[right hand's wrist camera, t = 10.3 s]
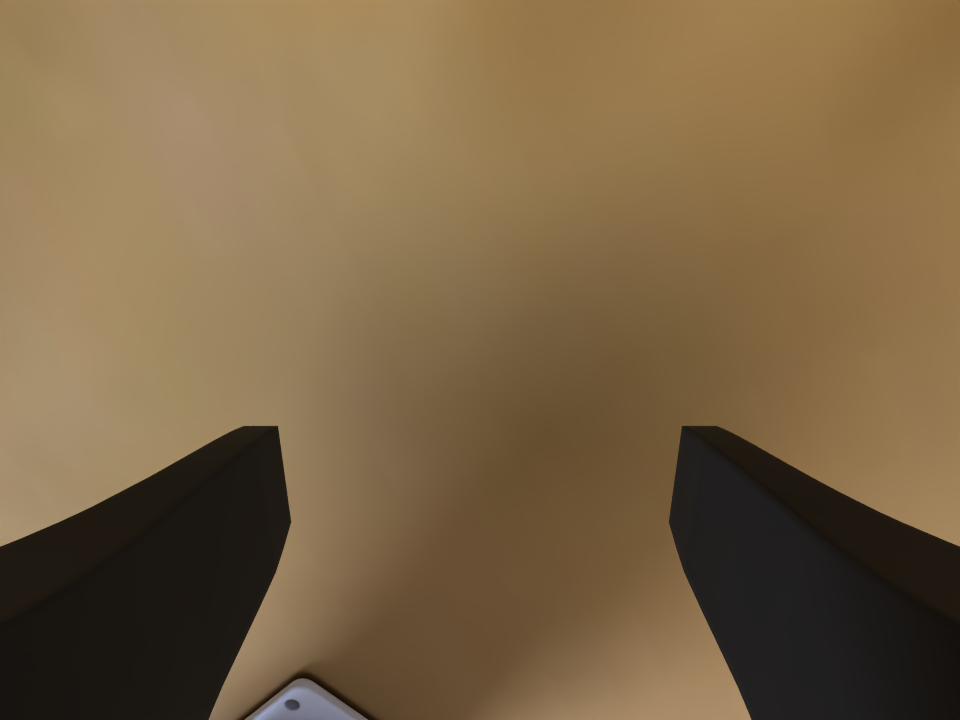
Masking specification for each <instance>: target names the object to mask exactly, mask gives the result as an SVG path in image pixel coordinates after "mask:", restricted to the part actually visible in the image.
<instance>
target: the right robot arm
mask: <svg viewBox="0 0 960 720" xmlns="http://www.w3.org/2000/svg"><path fill="white" fill-rule="evenodd" d="M290 524H291V518H290V511H289V503H288V496H287V489H286V482H285V474H284V467H283V460H282V453H281V445H280V438H279V431H278V426H243V427H240V428H238V429H235V430H233V431H231V432H229V433H227V434H225V435H223V436H221V437H220V438H218V439H216V440H214V441H212V442H210V443H209V444H207V445H205V446H203V447H202V448H200V449H198V450H196V451H195V452H193V453H191V454H189V455H187V456H186V457H184V458H182V459H180V460H179V461H177V462H175V463H173V464H172V465H170V466H168V467H166V468H165V469H163V470H161V471H159V472H157V473H156V474H154V475H152V476H150V477H148V478H147V479H145V480H143V481H141V482H139V483H137V484H135V485H133V486H131V487H129V488H127V489H125V490H123V491H122V492H120V493H118V494H116V495H114V496H112V497H110V498H108V499H106V500H104V501H102V502H100V503H99V504H97V505H95V506H93V507H91V508H89V509H86V510H84V511H82V512H80V513H78V514H76V515H74V516H72V517H69V518H67V519H65V520H63V521H61V522H59V523H56V524H54V525H52V526H49V527H47V528H45V529H42V530H40V531H37V532H35V533H33V534H30V535H28V536H26V537H23V538H21V539H19V540H16V541H14V542H11V543H9V544H6V545H4V546H1V547H0V720H209V717H210V714H211V712H212V710H213V707H214V705H215V703H216V700H217V698H218V695H219V693H220V691H221V688H222V686H223V684H224V682H225V680H226V678H227V675H228V673H229V671H230V669H231V667H232V665H233V663H234V661H235V658H236V656H237V654H238V652H239V650H240V648H241V646H242V644H243V642H244V639H245V637H246V635H247V633H248V631H249V629H250V627H251V625H252V622H253V620H254V618H255V616H256V614H257V612H258V610H259V608H260V605H261V603H262V601H263V599H264V597H265V595H266V592H267V590H268V588H269V586H270V584H271V582H272V579H273V577H274V575H275V573H276V570H277V567H278V564H279V561H280V558H281V554H282V551H283V548H284V545H285V541H286V538H287V534H288V531H289V527H290ZM669 524H670V527H671V531H672V534H673V538H674V541H675V545H676V548H677V551H678V554H679V558H680V561H681V564H682V567H683V570H684V573H685V575H686V577H687V579H688V581H689V584H690V586H691V588H692V590H693V592H694V595H695V597H696V599H697V601H698V603H699V605H700V608H701V610H702V612H703V614H704V616H705V618H706V620H707V622H708V625H709V627H710V629H711V631H712V633H713V635H714V637H715V639H716V642H717V644H718V646H719V648H720V650H721V652H722V654H723V656H724V658H725V661H726V663H727V665H728V667H729V669H730V671H731V673H732V675H733V678H734V680H735V682H736V684H737V686H738V688H739V691H740V693H741V695H742V698H743V700H744V703H745V705H746V707H747V710H748V712H749V714H750V717H751V720H960V546H957V545H954V544H952V543H949V542H947V541H945V540H942V539H940V538H938V537H935V536H933V535H930V534H928V533H926V532H923V531H921V530H919V529H916V528H914V527H912V526H909V525H907V524H904V523H902V522H900V521H898V520H896V519H893V518H891V517H889V516H887V515H885V514H882V513H880V512H878V511H876V510H874V509H872V508H870V507H868V506H866V505H864V504H862V503H860V502H858V501H856V500H854V499H852V498H850V497H848V496H846V495H844V494H842V493H840V492H838V491H836V490H834V489H833V488H831V487H829V486H827V485H825V484H823V483H821V482H819V481H818V480H816V479H814V478H812V477H810V476H808V475H807V474H805V473H803V472H801V471H799V470H798V469H796V468H794V467H792V466H790V465H789V464H787V463H785V462H783V461H782V460H780V459H778V458H776V457H775V456H773V455H771V454H769V453H768V452H766V451H764V450H762V449H761V448H759V447H757V446H755V445H754V444H752V443H750V442H748V441H746V440H744V439H743V438H741V437H739V436H737V435H735V434H733V433H731V432H729V431H727V430H725V429H722V428H720V427H718V426H682V431H681V438H680V445H679V453H678V460H677V467H676V474H675V482H674V489H673V496H672V504H671V511H670V518H669ZM245 720H368V719H366V718H365V717H364V716H362V715H361V714H359V713H358V712H356V711H355V710H353V709H352V708H350V707H349V706H348V705H346V704H345V703H343V702H342V701H340V700H339V699H337V698H336V697H335V696H333V695H332V694H330V693H329V692H327V691H326V690H324V689H323V688H322V687H320V686H319V685H317V684H316V683H314V682H313V681H311V680H309V679H304V678H302V679H297V680H295V681H293V682H292V683H290V684H289V685H288V686H287V687H285V688H284V689H283V690H281V691H280V692H279V693H278V694H276V695H275V696H274V697H273V698H271V699H270V700H269V701H268V702H266V703H265V704H264V705H263V706H261V707H260V708H259V709H257V710H256V711H255V712H254V713H252V714H251V715H250V716H249V717H247V718H246V719H245Z"/></svg>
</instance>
